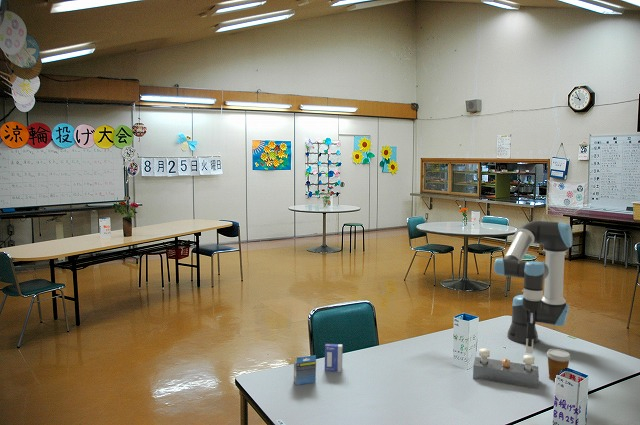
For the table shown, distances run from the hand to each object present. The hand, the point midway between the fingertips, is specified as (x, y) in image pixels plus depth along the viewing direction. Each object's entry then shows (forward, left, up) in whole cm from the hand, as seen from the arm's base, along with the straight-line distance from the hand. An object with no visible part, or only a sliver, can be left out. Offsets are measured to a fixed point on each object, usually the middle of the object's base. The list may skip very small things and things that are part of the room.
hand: (529, 352), depth 210 cm
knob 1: (0, -18, -10) cm, 20 cm away
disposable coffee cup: (-9, +12, -14) cm, 20 cm away
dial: (0, -9, -8) cm, 12 cm away
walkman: (+21, -81, -14) cm, 85 cm away
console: (0, -9, -14) cm, 16 cm away
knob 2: (0, 0, -10) cm, 10 cm away
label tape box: (+37, -88, -14) cm, 96 cm away
